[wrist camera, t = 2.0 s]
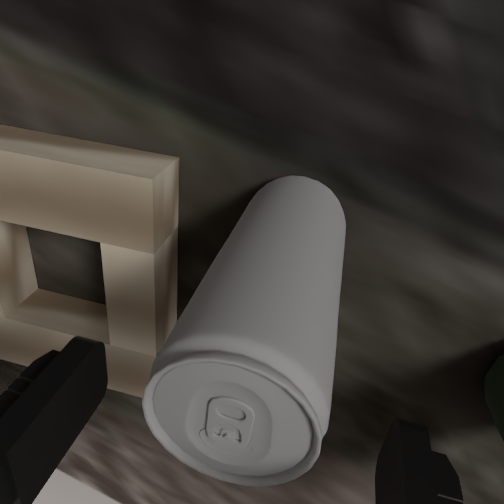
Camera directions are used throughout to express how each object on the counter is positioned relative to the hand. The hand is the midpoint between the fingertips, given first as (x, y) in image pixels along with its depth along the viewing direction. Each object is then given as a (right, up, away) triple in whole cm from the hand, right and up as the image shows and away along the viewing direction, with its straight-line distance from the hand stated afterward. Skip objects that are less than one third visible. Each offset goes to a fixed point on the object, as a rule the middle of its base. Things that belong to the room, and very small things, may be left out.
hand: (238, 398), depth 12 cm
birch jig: (-10, +4, +13) cm, 17 cm away
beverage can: (+3, +6, +9) cm, 11 cm away
